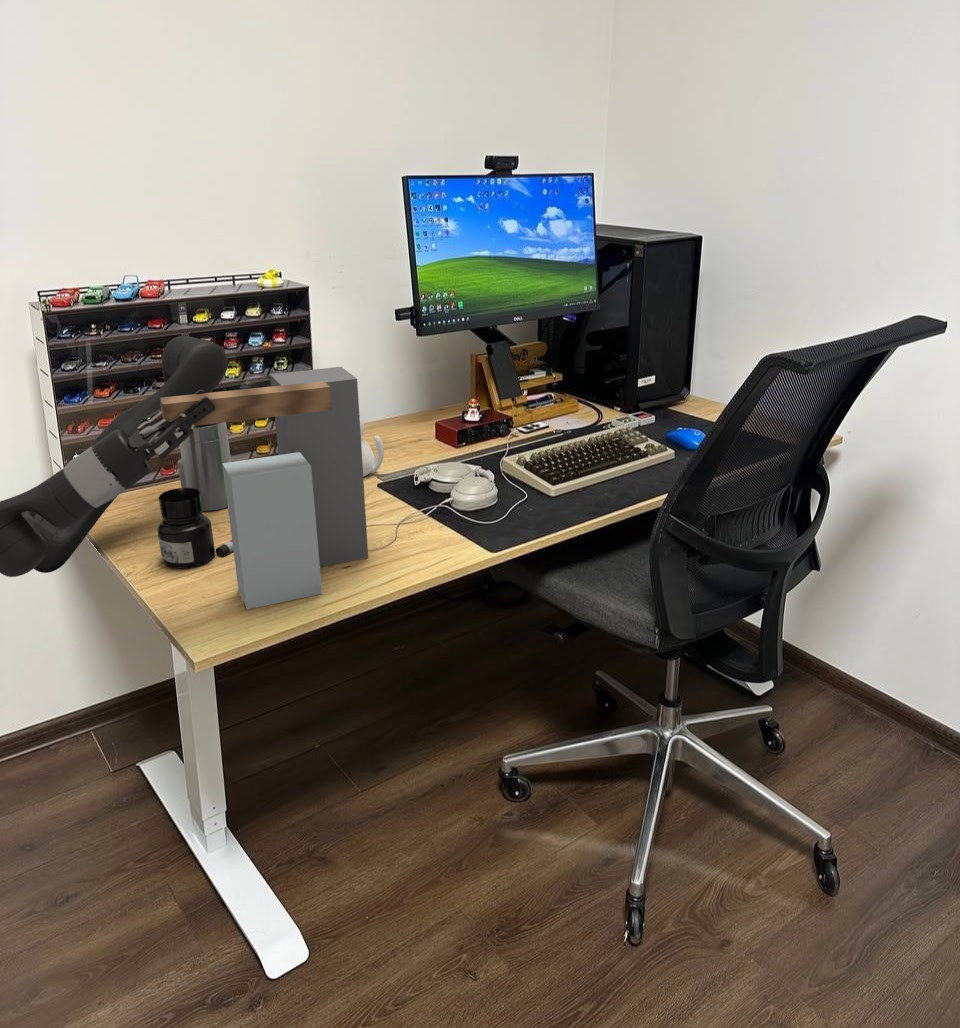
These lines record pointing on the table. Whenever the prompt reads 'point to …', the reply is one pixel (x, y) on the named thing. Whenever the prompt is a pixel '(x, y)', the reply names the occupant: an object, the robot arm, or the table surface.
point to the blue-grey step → (273, 528)
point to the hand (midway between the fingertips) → (208, 398)
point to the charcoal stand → (330, 462)
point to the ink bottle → (184, 529)
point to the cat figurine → (370, 453)
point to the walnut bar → (254, 402)
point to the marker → (225, 549)
